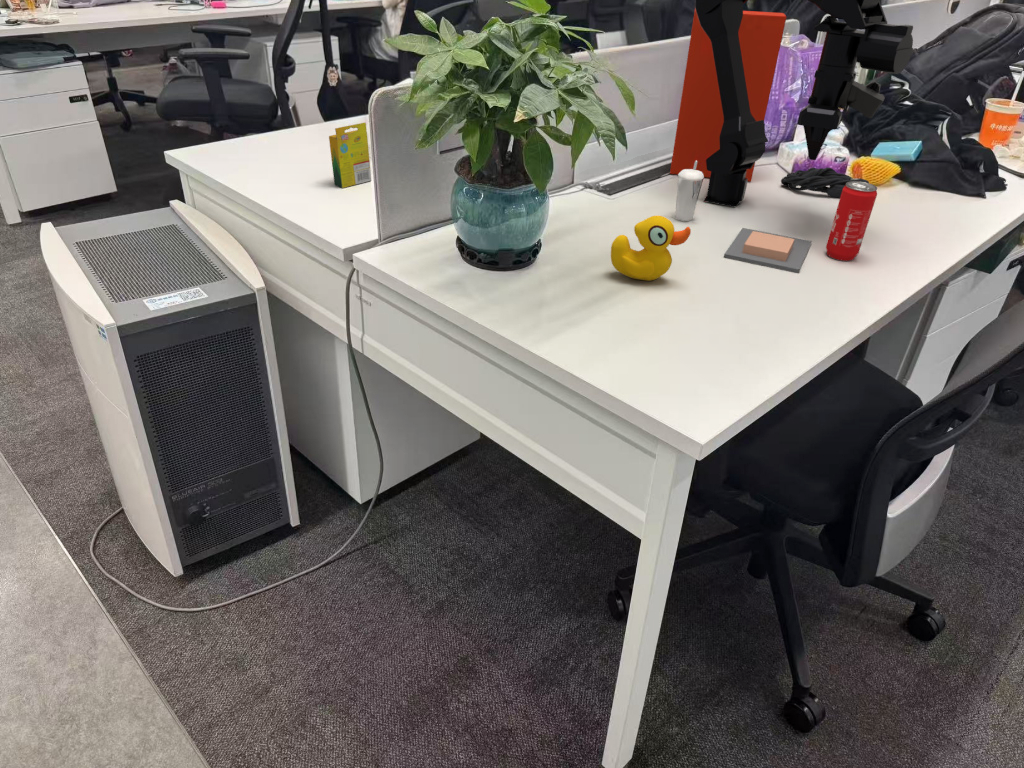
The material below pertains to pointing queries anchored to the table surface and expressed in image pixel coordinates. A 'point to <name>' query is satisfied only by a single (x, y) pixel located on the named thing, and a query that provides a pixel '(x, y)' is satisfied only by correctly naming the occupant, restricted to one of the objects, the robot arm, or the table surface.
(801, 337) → the table surface
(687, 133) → the file binder
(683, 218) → the milkshake
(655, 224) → the duckling
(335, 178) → the crayon box
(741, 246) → the mat
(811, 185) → the cable
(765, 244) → the tile
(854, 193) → the beverage can
